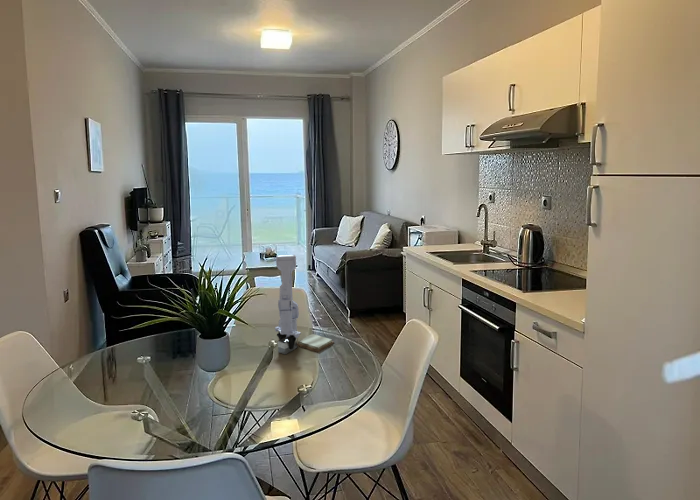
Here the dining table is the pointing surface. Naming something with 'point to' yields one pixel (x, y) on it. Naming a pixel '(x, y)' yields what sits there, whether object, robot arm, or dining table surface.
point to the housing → (285, 346)
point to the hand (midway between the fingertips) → (287, 347)
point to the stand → (315, 342)
